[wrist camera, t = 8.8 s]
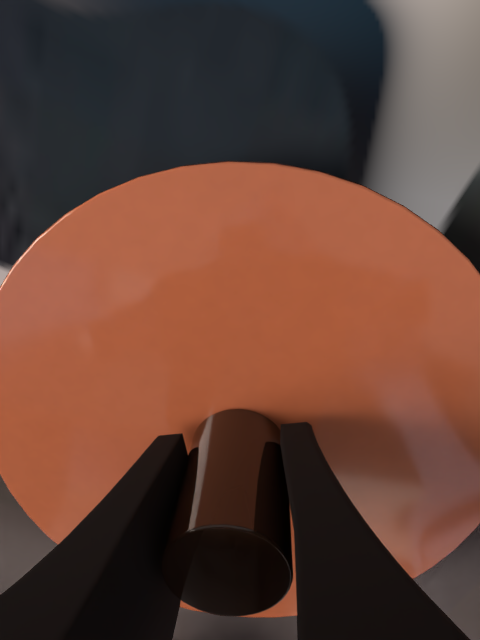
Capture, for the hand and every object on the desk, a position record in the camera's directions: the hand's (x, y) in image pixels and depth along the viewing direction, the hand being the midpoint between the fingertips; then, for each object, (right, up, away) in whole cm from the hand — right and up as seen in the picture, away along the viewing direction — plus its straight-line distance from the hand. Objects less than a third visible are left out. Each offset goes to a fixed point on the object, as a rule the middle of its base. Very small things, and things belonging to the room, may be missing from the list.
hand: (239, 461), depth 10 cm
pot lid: (0, 0, +1) cm, 1 cm away
